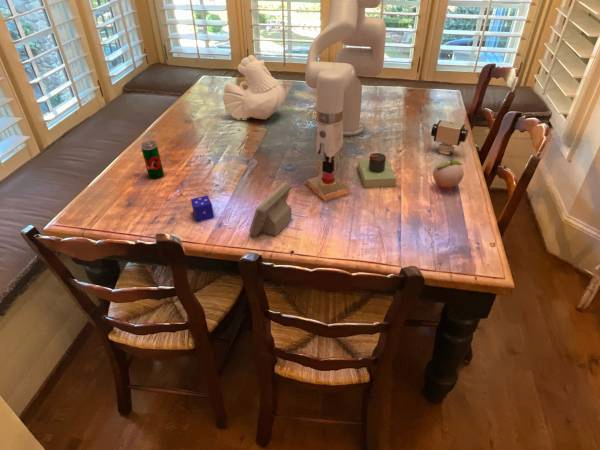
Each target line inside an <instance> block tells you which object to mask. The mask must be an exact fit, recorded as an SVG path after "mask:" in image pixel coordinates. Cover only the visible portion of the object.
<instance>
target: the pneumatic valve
mask: <svg viewBox="0 0 600 450" xmlns="http://www.w3.org/2000/svg"><path fill="white" fill-rule="evenodd" d="M468 134H469V129H466V124H464V123H458V122H456V121H454V122H453V121H452V120H450V121H447V120H441V119H440V120H439V121H438V122H437V123H434V124H433V125H432V127H431V131H430V136H431V137H433V142H437V143H439V144H438V147H437V150H438V153H439V154H442V155H446V156H450V155H451V154H453V153H454V151H455V146H458V147H459V146H460V145H461V143H465V142H466V140H467V137H468Z"/></svg>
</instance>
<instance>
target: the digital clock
mask: <svg viewBox="0 0 600 450" xmlns="http://www.w3.org/2000/svg"><path fill="white" fill-rule="evenodd" d="M291 189H292V185H291V183H290V182H289V181H285V182H283V183H281V184H280V185H279V186H278V187H277V188H276V189H275V190H274V191H273V192H271V194H269V196H267V197H266V198H265V199H264V200H263V201H262V202H260V204H259V205H258V206H257V207H256V209H255V211H254V214H253V218H252V220H251V223H250V227H249V234H250V236H253V237H255V236H256V237H257V236H258V235H259V234H261V232H262V233H265V234H268V235H272V236H273V237H277V235H278V234H279V233H280V232H281V231H282V230H284V228H285V227H286V226H287V225H288V224H289V223H290V222H291V220H292V208H291V205H289V204H288V203H287V200H288V197H289V195H290V192H291Z"/></svg>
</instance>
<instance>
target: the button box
mask: <svg viewBox="0 0 600 450" xmlns="http://www.w3.org/2000/svg"><path fill="white" fill-rule="evenodd" d="M322 175H323V173H322V174H320V175H318V176H315V177H312V178H308V179H306V181H307V187H309V188H310V189H311V190H312V191H313V192H314V193H315V194H316V195H317V196H318V197H319V198H320V199H321V200H323V201H324V202H328V201H331V200H333V199H337V198H340V197H343V196H345V195H348V194H350V187H349V186H348V185H346V184H345V183H344V182H343V181H342V180H340V179H339V177H338V175H336V174H334V181H332V182H324V181H323V180H322Z"/></svg>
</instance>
